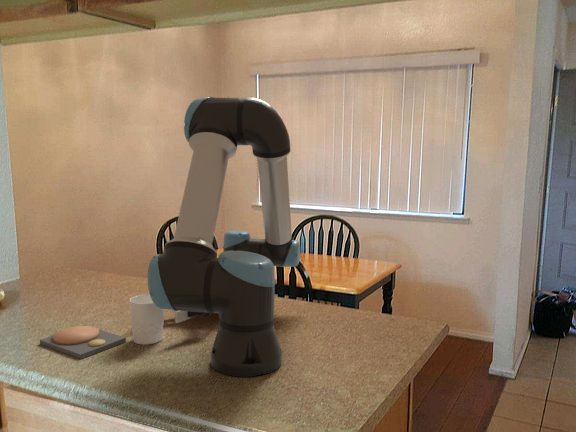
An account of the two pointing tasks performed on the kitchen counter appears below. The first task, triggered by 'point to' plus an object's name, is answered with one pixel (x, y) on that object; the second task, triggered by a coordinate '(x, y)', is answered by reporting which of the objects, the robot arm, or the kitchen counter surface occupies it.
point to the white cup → (146, 320)
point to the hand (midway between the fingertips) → (155, 312)
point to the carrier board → (82, 341)
